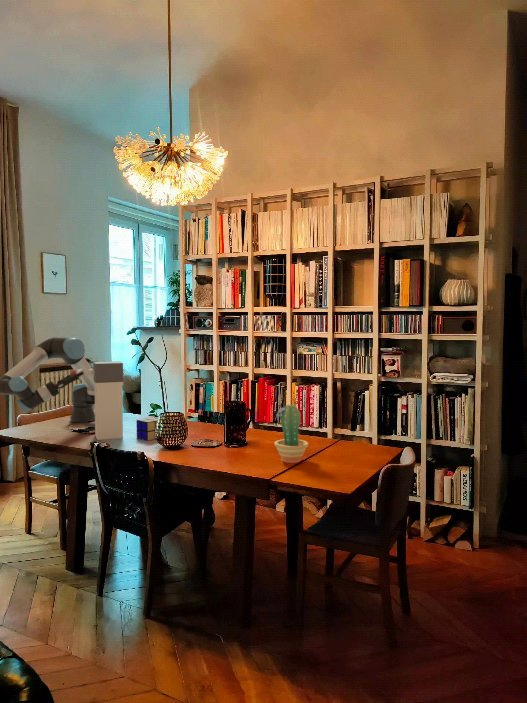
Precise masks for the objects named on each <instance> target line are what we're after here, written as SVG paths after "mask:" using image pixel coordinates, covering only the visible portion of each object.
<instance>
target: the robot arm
mask: <svg viewBox="0 0 527 703" xmlns="http://www.w3.org/2000/svg"><path fill="white" fill-rule="evenodd" d="M85 352H86V349H85V343H84V342H83V341H82V340H81V339H80V338H77V337H71V336H69V337H57V336H56V337H50V338H48V339H46V340H44V341H42V342H40V343H39V344H37V345H36V346H34V348H33V349H32V352H31V353H29V354H28V355H27V356H26V357H24V358H23V359H22V360H21V361H19V362H18V363H17V364H16V365H14V367H12V368H11V369H9V370H8V371H7V372H6V373H4V374H3V375H2V376H1V377H0V395H2V396H3V395H4V396H5V395H6V396H8V395H9V396H16V397H17V398H18V400H17V405H18V406H19V408H20V409H21V411H22V412H23V413H28V412H29V411H32V410H34V409H36V408H37V407H38V406H40V405H42V404H43V403H45V402H49V401H50V399H52V398H53V397H55V396H57V395H59V394H60V390H61V389H64V388H65V387H66V386H68V385H70V384H72V383H73V382H75V381H79V380H81V381H82V383H76V384H74V385H73V386H72V410H71V415H70V417H69V419H70V420H69V421H70V422H71V423H79V422H80V423H89V422H88V421H91V422H94V421H93V420H95V409H94V406H93V405H95V384H94V383H93V380H94V375H90V376H83V375H85V374H87V373H88V372H90V370H89V369H93V368H92V367H91V365H90V364H89V362H88V361H87V360H86V358H85ZM50 359H61V360H63V362H64V363H65V364H66V365H68V366H71V368H72V370H81V371H79V372H78V373H76V374H75V375H73V376H70V374H68V375H67V376H65V377H62V378H61V379H59V380H57V381H56V383H54V381H52V380H51V381H49V382H47V383H46V384H45V385H42V386H40V387H38V388H36V389H35V390H33V388H32V387H31V386H30V384H29V383H28V382H27V380H26V379H25V377H27V376H28V375H29V374H30V373H31V372H33V371H34V370H35V369H36V368H37V367H39V366H40V365H41V364H42V363H46V362H47V361H49V360H50ZM59 389H60V390H59Z"/></svg>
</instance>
